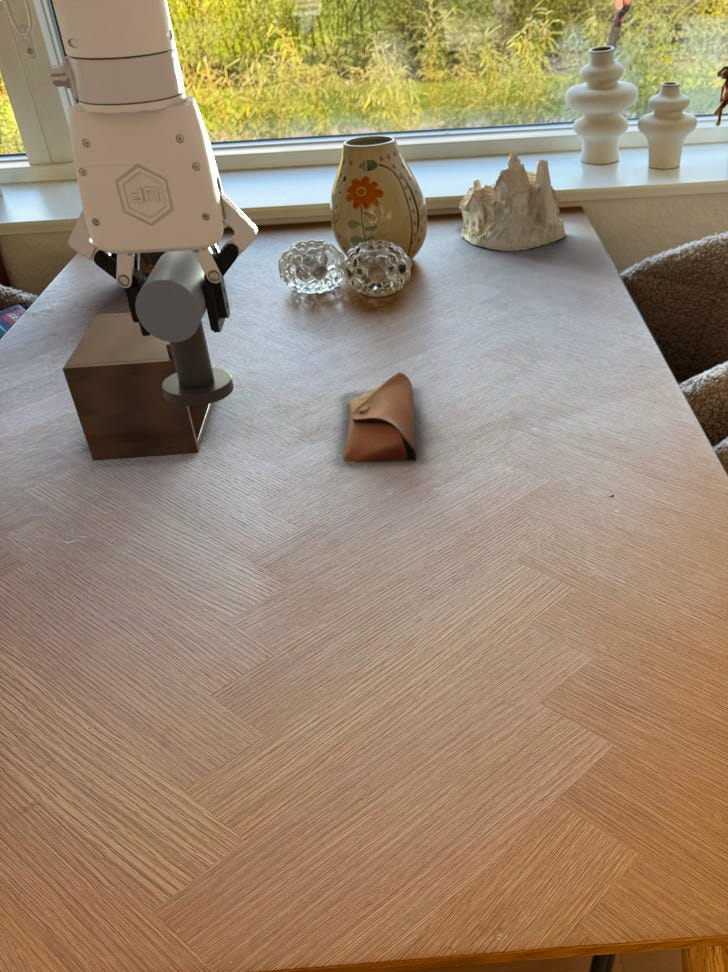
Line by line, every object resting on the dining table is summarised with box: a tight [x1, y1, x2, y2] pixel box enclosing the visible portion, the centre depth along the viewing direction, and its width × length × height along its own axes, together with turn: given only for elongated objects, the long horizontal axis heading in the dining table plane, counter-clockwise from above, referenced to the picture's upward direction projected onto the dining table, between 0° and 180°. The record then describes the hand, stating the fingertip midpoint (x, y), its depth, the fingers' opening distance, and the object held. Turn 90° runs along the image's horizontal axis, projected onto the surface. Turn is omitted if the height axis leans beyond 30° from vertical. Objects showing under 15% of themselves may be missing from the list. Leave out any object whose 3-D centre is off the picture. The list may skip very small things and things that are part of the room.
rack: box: [62, 311, 215, 461], centre depth 112 cm, size 12×16×12 cm
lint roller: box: [135, 250, 235, 406], centre depth 80 cm, size 6×8×11 cm
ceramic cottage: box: [458, 151, 566, 252], centre depth 163 cm, size 16×16×15 cm
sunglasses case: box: [342, 372, 417, 464], centre depth 110 cm, size 18×7×7 cm
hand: (184, 326), depth 80 cm, fingers closed on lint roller, 5 cm apart
